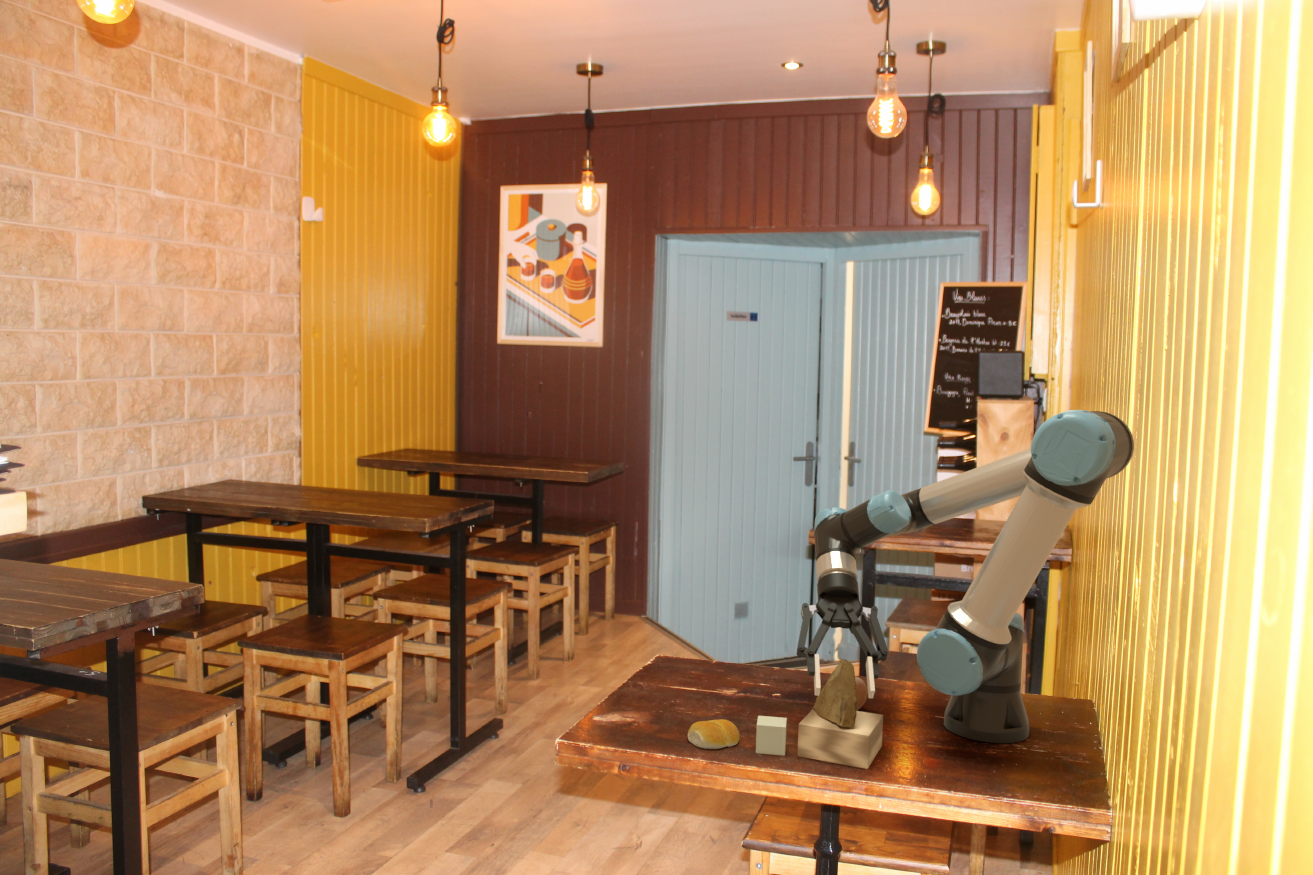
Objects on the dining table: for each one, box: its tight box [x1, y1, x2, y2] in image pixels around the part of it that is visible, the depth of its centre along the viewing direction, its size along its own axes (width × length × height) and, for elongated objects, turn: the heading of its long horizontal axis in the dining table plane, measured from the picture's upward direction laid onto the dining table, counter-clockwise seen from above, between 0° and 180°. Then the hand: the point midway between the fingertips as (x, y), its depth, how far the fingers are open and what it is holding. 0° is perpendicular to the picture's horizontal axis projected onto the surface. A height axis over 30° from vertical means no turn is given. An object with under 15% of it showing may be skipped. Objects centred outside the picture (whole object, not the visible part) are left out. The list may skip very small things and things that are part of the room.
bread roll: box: [687, 718, 740, 750], centre depth 172 cm, size 8×9×4 cm
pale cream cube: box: [755, 715, 788, 756], centre depth 169 cm, size 5×5×5 cm
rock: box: [812, 658, 857, 728], centre depth 168 cm, size 11×9×10 cm
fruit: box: [855, 676, 868, 711], centre depth 191 cm, size 8×7×8 cm
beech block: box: [797, 708, 884, 770], centre depth 169 cm, size 12×12×6 cm
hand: (844, 692), depth 165 cm, fingers open, 8 cm apart
